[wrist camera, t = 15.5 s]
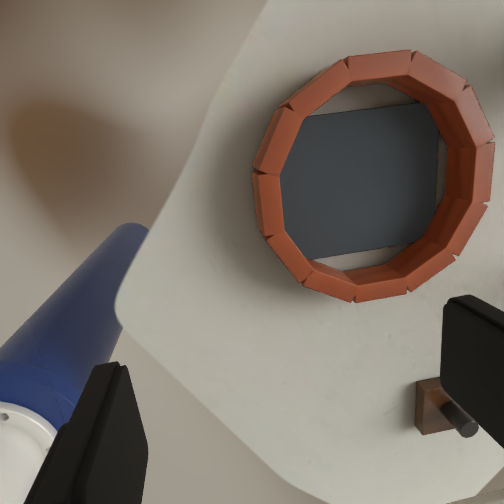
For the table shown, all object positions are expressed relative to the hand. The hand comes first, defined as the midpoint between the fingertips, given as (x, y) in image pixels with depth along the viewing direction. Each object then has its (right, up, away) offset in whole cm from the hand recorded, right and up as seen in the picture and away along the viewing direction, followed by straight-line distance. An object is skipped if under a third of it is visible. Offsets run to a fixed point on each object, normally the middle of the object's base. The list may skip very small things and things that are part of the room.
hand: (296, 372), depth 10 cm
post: (+20, -13, +29) cm, 38 cm away
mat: (+8, +9, +21) cm, 24 cm away
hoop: (+8, +9, +20) cm, 23 cm away
